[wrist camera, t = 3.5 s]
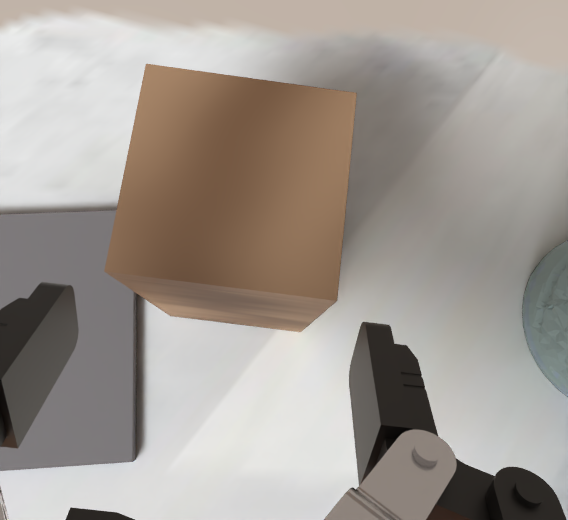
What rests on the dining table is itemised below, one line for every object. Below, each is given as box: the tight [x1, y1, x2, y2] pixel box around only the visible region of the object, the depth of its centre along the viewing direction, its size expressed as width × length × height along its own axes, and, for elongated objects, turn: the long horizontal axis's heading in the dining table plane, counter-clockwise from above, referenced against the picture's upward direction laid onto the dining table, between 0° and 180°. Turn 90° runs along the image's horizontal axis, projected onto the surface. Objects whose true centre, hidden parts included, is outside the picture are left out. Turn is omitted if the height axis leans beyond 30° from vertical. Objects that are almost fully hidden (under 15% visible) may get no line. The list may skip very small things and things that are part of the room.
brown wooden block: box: [104, 64, 357, 332], centre depth 19 cm, size 6×6×10 cm
